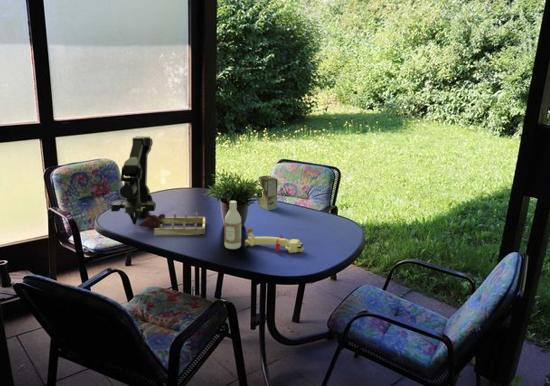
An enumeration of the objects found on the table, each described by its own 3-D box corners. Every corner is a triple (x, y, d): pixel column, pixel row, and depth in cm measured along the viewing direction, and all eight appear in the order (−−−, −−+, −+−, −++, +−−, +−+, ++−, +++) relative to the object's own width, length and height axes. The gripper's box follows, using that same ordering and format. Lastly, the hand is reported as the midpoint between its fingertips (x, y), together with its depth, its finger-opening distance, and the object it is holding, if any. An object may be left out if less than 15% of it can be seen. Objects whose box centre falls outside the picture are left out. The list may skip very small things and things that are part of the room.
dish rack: (158, 223, 230) (157, 213, 229) (205, 222, 233) (205, 212, 231) (154, 235, 216) (154, 224, 214) (204, 234, 219) (204, 224, 217)
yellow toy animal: (243, 251, 206) (300, 256, 199) (241, 232, 204) (299, 236, 196) (251, 242, 215) (306, 246, 208) (250, 224, 213) (305, 227, 205)
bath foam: (221, 248, 205) (221, 203, 199) (228, 242, 211) (228, 198, 205) (237, 250, 203) (237, 205, 197) (243, 244, 209) (243, 200, 204)
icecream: (146, 222, 213) (170, 216, 226) (135, 214, 216) (159, 208, 229) (143, 236, 216) (167, 229, 228) (132, 228, 219) (156, 221, 231)
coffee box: (277, 208, 255) (278, 179, 251) (267, 210, 252) (268, 180, 247) (267, 203, 262) (267, 175, 258) (257, 205, 259) (257, 176, 254)
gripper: (107, 197, 208) (109, 231, 212) (151, 197, 210) (153, 230, 214) (112, 189, 218) (114, 222, 223) (155, 189, 220) (156, 221, 225)
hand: (134, 224), depth 221 cm, fingers closed
